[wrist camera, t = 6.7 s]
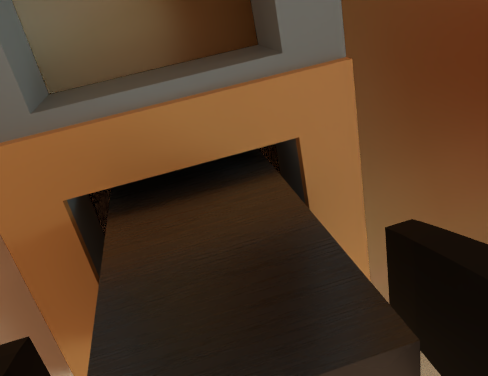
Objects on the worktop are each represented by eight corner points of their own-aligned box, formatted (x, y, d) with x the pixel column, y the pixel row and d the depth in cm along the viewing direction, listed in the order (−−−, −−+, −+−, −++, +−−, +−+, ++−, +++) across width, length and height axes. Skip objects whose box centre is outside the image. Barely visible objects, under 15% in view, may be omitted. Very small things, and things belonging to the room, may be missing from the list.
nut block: (245, 133, 12) (419, 339, 5) (267, 243, 13) (422, 526, 6) (113, 167, 11) (75, 457, 4) (152, 277, 13) (173, 627, 6)
